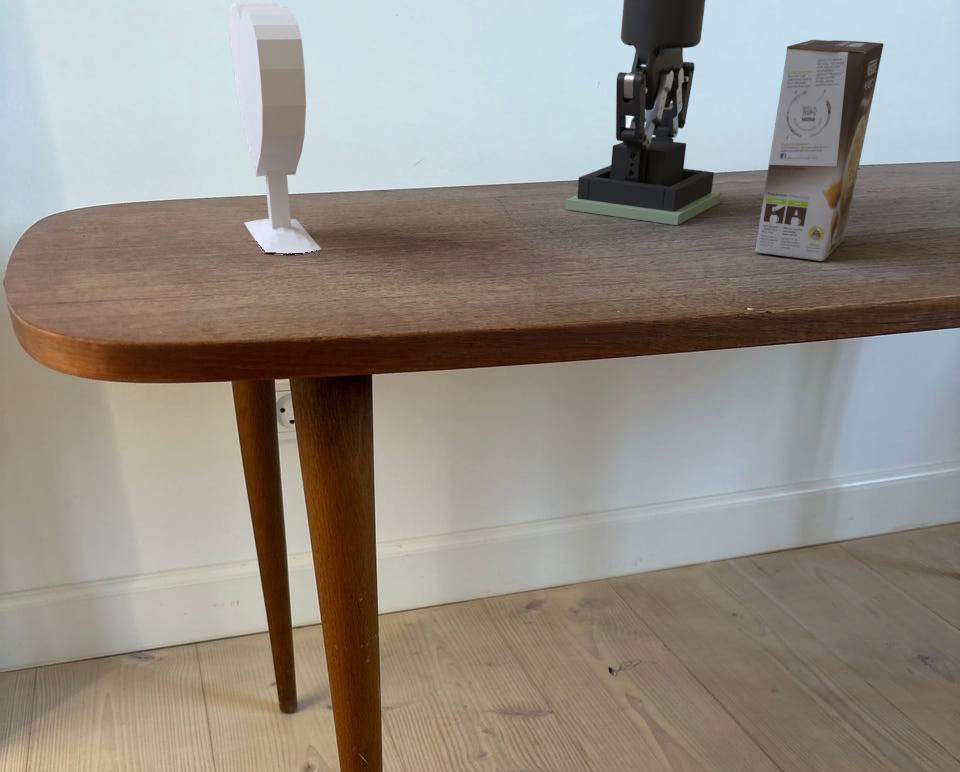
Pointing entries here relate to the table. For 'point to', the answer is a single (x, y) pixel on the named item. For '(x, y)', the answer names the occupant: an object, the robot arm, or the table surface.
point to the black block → (654, 162)
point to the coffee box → (817, 146)
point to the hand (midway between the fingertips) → (646, 181)
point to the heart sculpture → (271, 113)
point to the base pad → (645, 197)
